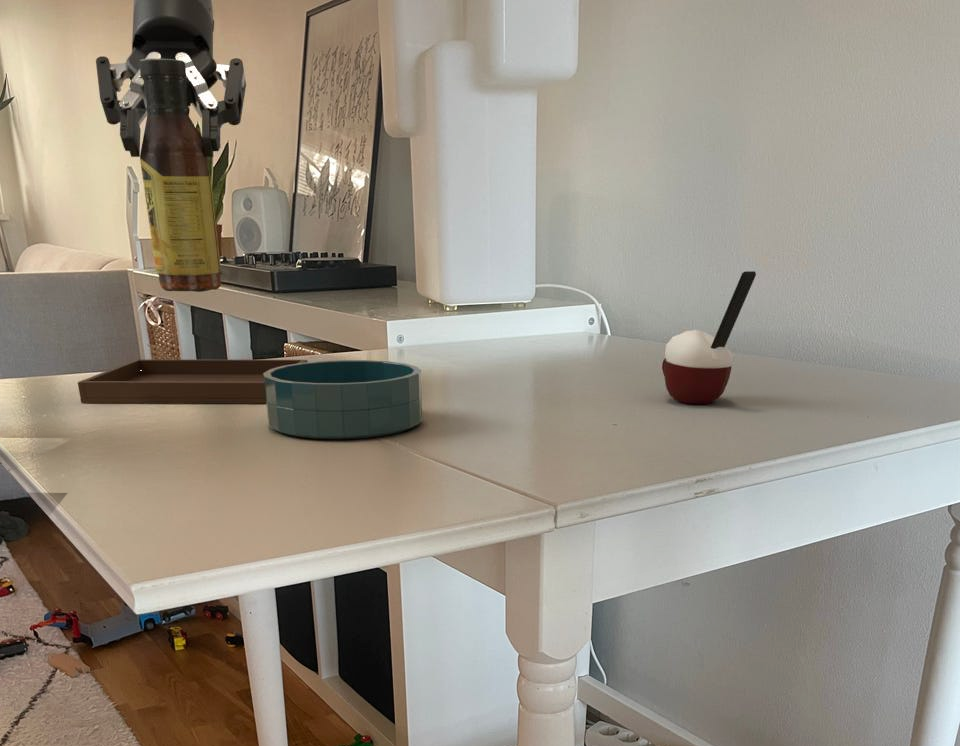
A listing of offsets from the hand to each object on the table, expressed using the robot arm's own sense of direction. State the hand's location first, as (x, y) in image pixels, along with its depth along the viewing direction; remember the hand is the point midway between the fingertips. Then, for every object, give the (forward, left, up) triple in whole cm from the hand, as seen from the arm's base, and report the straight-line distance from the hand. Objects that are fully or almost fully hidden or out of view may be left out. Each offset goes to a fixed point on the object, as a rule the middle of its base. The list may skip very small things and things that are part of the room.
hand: (170, 149), depth 90 cm
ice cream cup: (+50, -4, -22) cm, 55 cm away
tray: (0, +2, -22) cm, 22 cm away
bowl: (+18, -15, -22) cm, 32 cm away
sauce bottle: (0, +2, -13) cm, 13 cm away
